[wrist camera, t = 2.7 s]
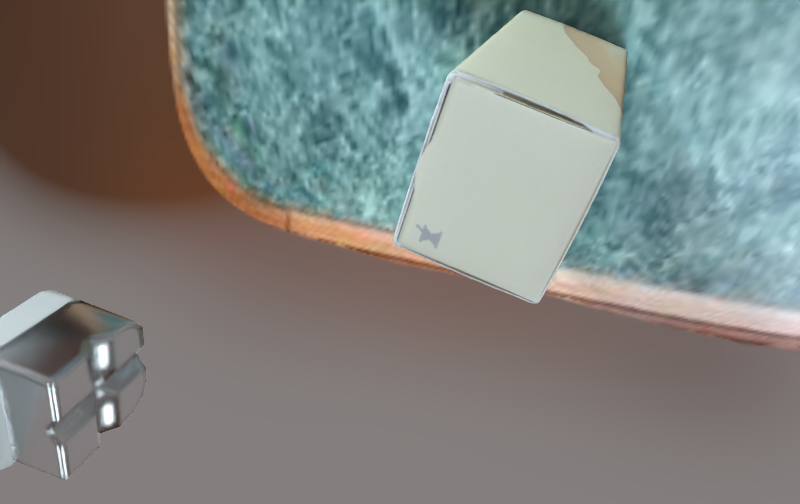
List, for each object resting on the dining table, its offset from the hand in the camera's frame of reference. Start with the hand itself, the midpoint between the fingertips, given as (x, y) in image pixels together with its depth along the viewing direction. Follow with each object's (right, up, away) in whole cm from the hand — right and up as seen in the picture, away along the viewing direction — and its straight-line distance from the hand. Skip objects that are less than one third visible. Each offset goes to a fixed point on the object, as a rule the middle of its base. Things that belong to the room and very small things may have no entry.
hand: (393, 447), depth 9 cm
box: (+6, +9, +16) cm, 20 cm away
